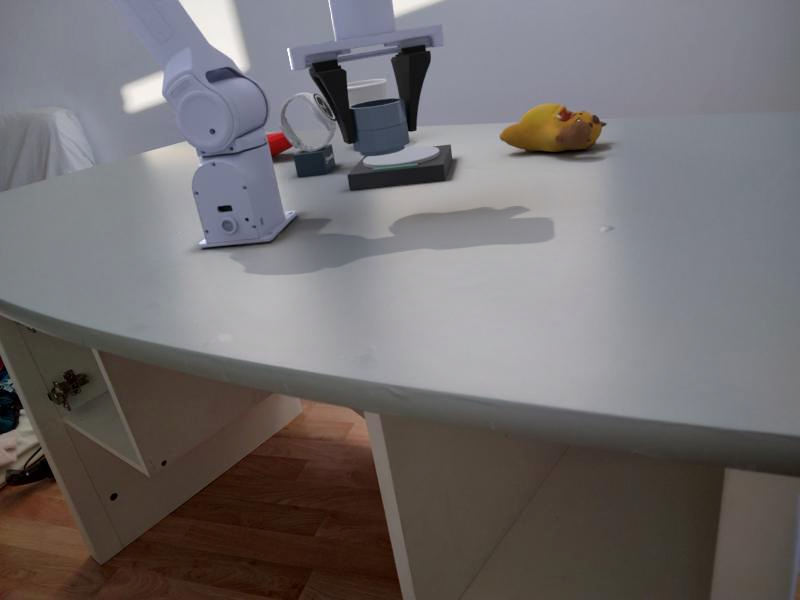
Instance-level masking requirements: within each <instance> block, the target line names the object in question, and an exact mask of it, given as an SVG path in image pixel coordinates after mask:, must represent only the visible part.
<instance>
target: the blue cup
mask: <svg viewBox="0 0 800 600" xmlns="http://www.w3.org/2000/svg"><path fill="white" fill-rule="evenodd" d="M349 107H350V113H351V117H352V122H353V126H354V131H355V139H356V143H353V144H352V147H353V151H354V152H358V153H359V155H360V156H362V157H364V156H380V155H387V154H392V153H395V152H399V151H401V150H403V149H405V147H406V145H408V144H410V132H409V131H408V125H407V118H406V110H405V103H404V99H403V98H399V97H389V98H388V97H386V99H378V100H372V101H366V102H361V103H357V104H353V105H350V106H349Z"/></svg>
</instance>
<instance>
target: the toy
mask: <svg viewBox="0 0 800 600" xmlns="http://www.w3.org/2000/svg"><path fill="white" fill-rule="evenodd" d="M607 125H608V123H607V122H605V121H601V119H600V118H599V116H597V115H596V114H592V113H590V112H588V111H585V110H580V111H577V112H573V111H572V110H570V109H569V108H568V107H566V106H565V105H561V104H559V103H555V102H554V103H553V102H546V103H540V104H538V105H536V106H534V107H532V108H531V109H529V110H528V111H527V112H526V113H525V114H523V116H522V118H521V119H520V120H519V122H517V123H515V124H511V125H508V126H507V127H505V128H504V129H503V130H502V132H501V133H500V134H499V139H500V140H501V142H504V143H506V144H507V145H508V146H511V147H514V148H517V149H519V150H524V151H527V152H531V153H533V152H539V151H541V152H550V153H551V152H554V153H555V152H564V151H579V150H584V151H587V150H589V149H591V148H592V147H593V146H595V145H596V141H598V139H599V137H600V136H601V134H602V130H603V128H604V127H605V126H607Z"/></svg>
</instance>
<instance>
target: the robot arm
mask: <svg viewBox="0 0 800 600" xmlns="http://www.w3.org/2000/svg"><path fill="white" fill-rule="evenodd" d="M109 2H110V3H111V5H112V6H113V7H114V9H115V10H116V11H117V12H118V14H119V15H120V16H121V18H122V20H123V21H124V22H125V23H126V25H127V26H128V27H129V29H130V30H131V31H132V32H133V34H134V35H135V36H136V38H137V39H138V41H139V42H140V43H141V44H142V46H143V47H144V49H145V50H146V51H147V52H148V54H149V56H150V57H152V60H154V62H155V63H156V64H157V66H158V67H159V68H160V70H161V71H162V72H163V79H162V87H161V95H162V97H163V98H164V99H165V101H166V102H167V104H168V105H169V107H170V109H171V111H172V113H173V116H174V120H175V124H176V126H177V129H178V131H179V134H180V135H181V136H182V138H183V139H184V140H185V141H186V142H187V143H188V144H189V145H190V146H192V147H193V148H195V151H196V155H197V157H198V160H199V166H198V167H197V169H196V170H195V172H194V173H193V176H192V179H191V191H192V195H193V199H194V203H195V207H196V210H197V214H198V217H199V222H200V225H201V229H202V232H203V236H204V238H203V239H202V240H201V241H199V242H198V247H199V248H201V249H203V248H204V249H205V248H214V247H223V246H234V245H235V246H237V245H246V244H256V243H268V242H272V241H273V240H274V239H275V238H276V237H277V236H278V235H279V234H280V233H281V232H282V231H283V229H285V228H286V227H287V225H288V224H289V223H291V222H292V220H294V218H295V217H296V216H297V215H298V211H297V210H284V206H283V202H282V198H281V193H280V188H279V184H278V179H277V174H276V170H275V167H274V162H273V158H272V156H271V152H270V147H269V143H268V142H267V141H268V138H267V135H266V134H267V133H266V131H265V126H267V123H268V122H269V119H270V115H271V103H270V99H269V96H268V94H267V92H266V90H265V88H264V87H263V86H262V85H261V84H260V83H259V82H258V81H257V80H256V79H254V78H252V77H250V76H249V75H247V74H246V73H244V72H243V71H242V70H241V69H240V68H239V67H238V65H237V64H236V63H235V61H234V59H232V58H231V57H229V56H228V55H226V54H225V53H224V52H222V51H220V50H219V49H218V48H216V47H215V46H213V45H212V44H210V42H209V41H208V40H207V38H206V37H205V35H204V34H203V32H202V31H201V29H200V28H199V27H198V26H197V24H196V23H195V21H194V20H193V19H192V17H191V16H190V15H189V13H188V11H187V10H186V9H185V7H184V6H183V5H182V3H181V2H180V1H179V0H109ZM328 5H329V12H330V18H331V23H332V30H333V35H334V40H329V41H323V42H319V43H311V44H305V45H300V46H293V47H288V48H287V54H288V58H289V64H290V69H291V71H301V70H306V69H308V73H309V76H310V78H311V79H312V81H313V83H314V84H315V85H316V87H317V89H318V90H319V91H320V93H321V94H322V97H323V99H324V100H325V101H326V102H327V103H328V104H329V106H330V108H331V110H332V112H333V114H334V116H335V118H336V123H337V125H338V128H339V130H340V133H341V136H342V139H343V140H342V141H343V143H345V144H347V145H353V143H356V139H355V131H354V126H353V122H352V117H351V113H350V107H349V99H348V88H347V83H348V76H347V70H345V69H344V68H342V65H341V64H340V65H339V63H347V62H351V61H358V60H363V59H370V58H376V57H382V56H388V55H394V56H392V57H391V58H390V63H391V66H392V70H393V73H394V78H395V83H396V87H397V92H398V98H403V99H404V103H405V110H406V118H407V125H408V133H413V132H416V131H417V130H418V115H419V113H418V112H419V106H420V100H421V95H422V90H423V86H424V82H425V79H426V75H427V73H428V70H429V68H430V65H431V61H432V54H431V53H432V52H431V50H427V49H429V48H440V47H445V43H444V34H443V33H444V32H443V25H442V23H441V24H433V25H425V26H418V27H413V28H405V29H399V30H397V27H396V19H395V11H394V4H393V0H328ZM378 45H383V47H385V48H384V49H383V48H382V49H378V50H371V51H365V52H359V53H353V54H351V53H352V51H351V50H352V49H358V48H365V47H366V48H367V47H371V46H372V47H373V46H378ZM386 47H387V48H386ZM388 47H389V48H388Z"/></svg>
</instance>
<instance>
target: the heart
mask: <svg viewBox="0 0 800 600" xmlns="http://www.w3.org/2000/svg"><path fill="white" fill-rule="evenodd" d="M265 134H266V135H267V138H268V141H267V142H268V143H269V147H270V152H271V156H272V159H273V158H274V157H276V156H279V155H281V154H282V153H284V152H286V151H287V150H290V149H291V148H293V147H294V146H293V145H292V144H291V143H290V142H289V141H288V140H287V138H286V137H285V135H284V134H283V132H282V131H279V132H273V133H265Z"/></svg>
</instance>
